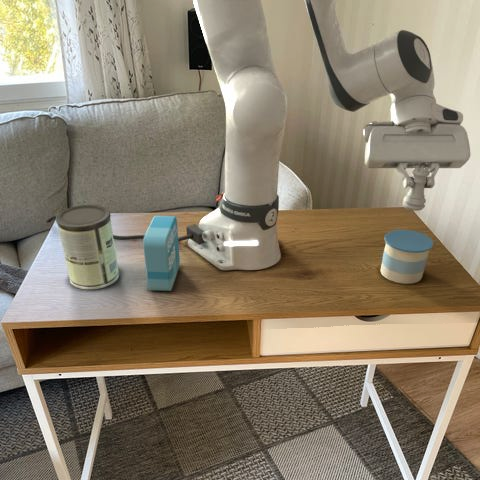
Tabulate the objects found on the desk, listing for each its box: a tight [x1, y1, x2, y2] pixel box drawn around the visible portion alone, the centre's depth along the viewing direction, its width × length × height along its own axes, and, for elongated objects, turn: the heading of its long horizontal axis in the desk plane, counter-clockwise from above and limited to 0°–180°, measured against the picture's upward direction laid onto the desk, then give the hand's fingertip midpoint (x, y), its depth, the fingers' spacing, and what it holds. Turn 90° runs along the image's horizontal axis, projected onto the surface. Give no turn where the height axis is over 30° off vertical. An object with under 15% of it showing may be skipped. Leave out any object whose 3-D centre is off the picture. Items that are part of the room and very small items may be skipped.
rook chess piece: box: [402, 166, 431, 212], centre depth 99 cm, size 4×4×8 cm
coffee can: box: [55, 204, 120, 291], centre depth 101 cm, size 10×10×14 cm
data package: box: [142, 215, 181, 292], centre depth 102 cm, size 12×4×12 cm, turn 176°
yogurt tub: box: [380, 229, 434, 285], centre depth 106 cm, size 10×10×8 cm
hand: (419, 187), depth 98 cm, fingers closed on rook chess piece, 3 cm apart
